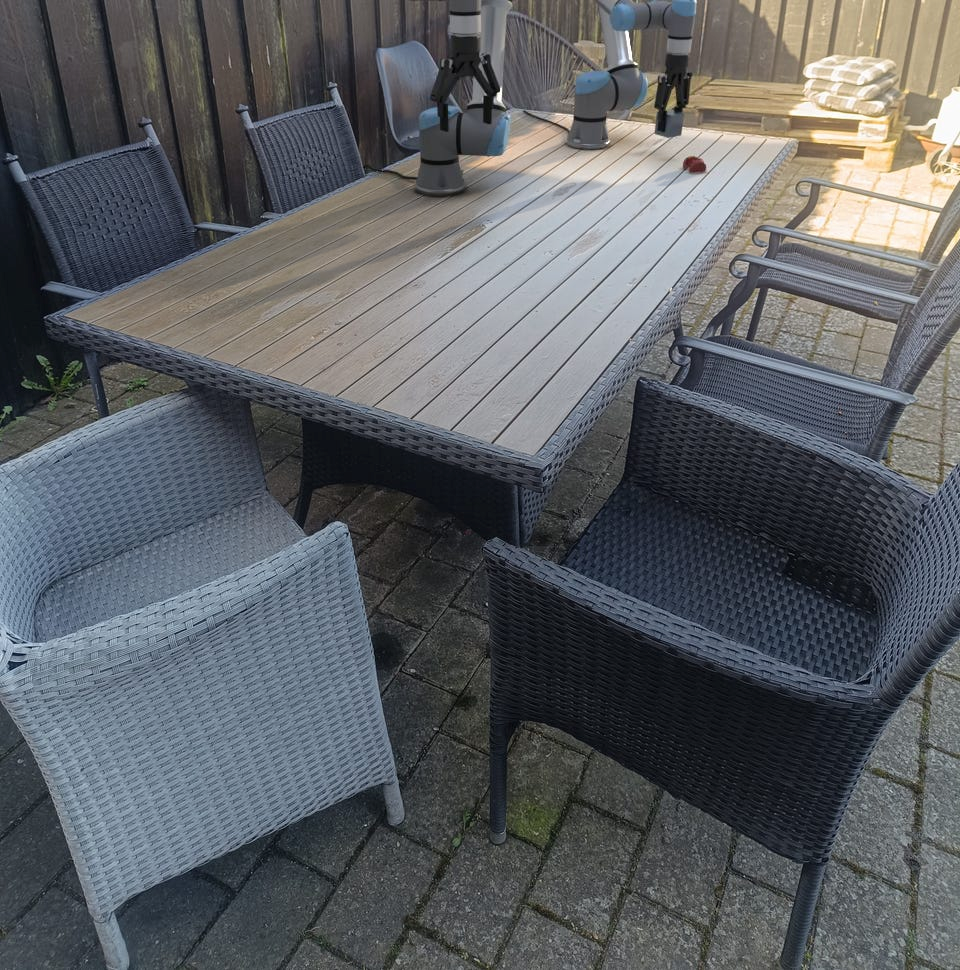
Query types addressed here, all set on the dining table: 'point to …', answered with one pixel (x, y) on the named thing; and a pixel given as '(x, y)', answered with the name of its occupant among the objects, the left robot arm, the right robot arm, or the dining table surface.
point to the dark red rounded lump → (694, 164)
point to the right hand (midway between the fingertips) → (668, 129)
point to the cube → (671, 124)
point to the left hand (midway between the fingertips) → (466, 127)
